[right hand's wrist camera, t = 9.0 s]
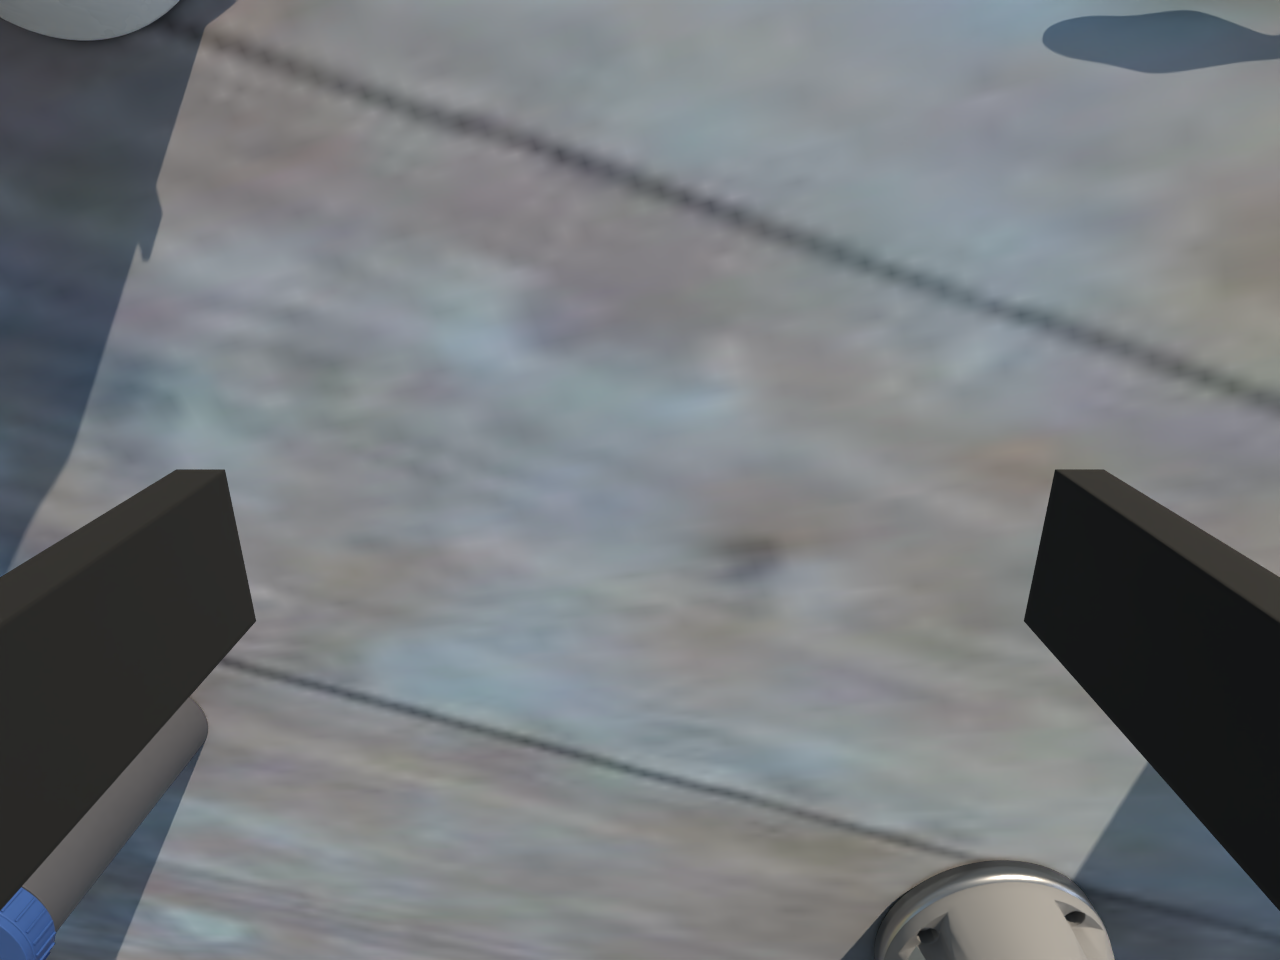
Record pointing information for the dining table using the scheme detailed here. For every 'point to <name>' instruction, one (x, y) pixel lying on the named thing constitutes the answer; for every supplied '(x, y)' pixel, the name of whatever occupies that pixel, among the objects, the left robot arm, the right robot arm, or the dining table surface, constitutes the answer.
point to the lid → (25, 928)
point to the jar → (117, 814)
